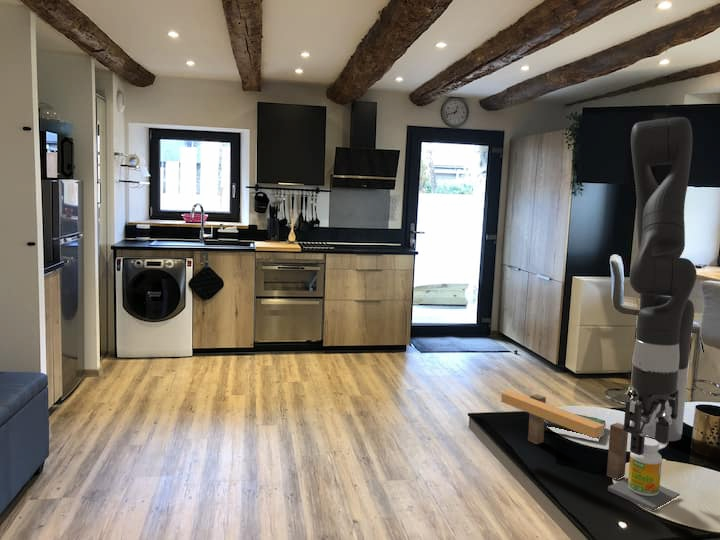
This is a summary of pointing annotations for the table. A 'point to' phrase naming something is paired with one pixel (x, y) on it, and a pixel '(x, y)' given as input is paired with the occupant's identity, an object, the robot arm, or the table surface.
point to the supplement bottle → (645, 470)
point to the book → (646, 501)
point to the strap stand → (615, 441)
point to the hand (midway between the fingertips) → (649, 447)
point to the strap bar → (554, 414)
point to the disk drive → (552, 424)
